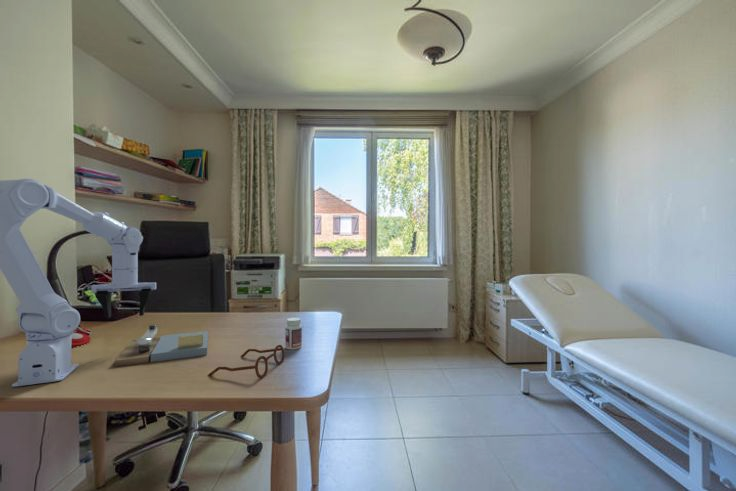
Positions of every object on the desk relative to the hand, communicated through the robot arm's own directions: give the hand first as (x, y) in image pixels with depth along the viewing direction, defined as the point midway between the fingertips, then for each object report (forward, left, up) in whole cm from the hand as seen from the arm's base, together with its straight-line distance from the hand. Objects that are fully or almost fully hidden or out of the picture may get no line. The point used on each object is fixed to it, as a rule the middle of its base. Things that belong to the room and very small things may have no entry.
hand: (125, 316), depth 89 cm
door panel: (-5, -15, -10) cm, 18 cm away
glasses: (-28, -31, -10) cm, 43 cm away
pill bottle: (-17, -44, -10) cm, 48 cm away
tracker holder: (+13, +15, -10) cm, 23 cm away
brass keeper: (-10, -17, -8) cm, 21 cm away
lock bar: (-3, -6, -6) cm, 9 cm away
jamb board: (-5, -4, -10) cm, 12 cm away
